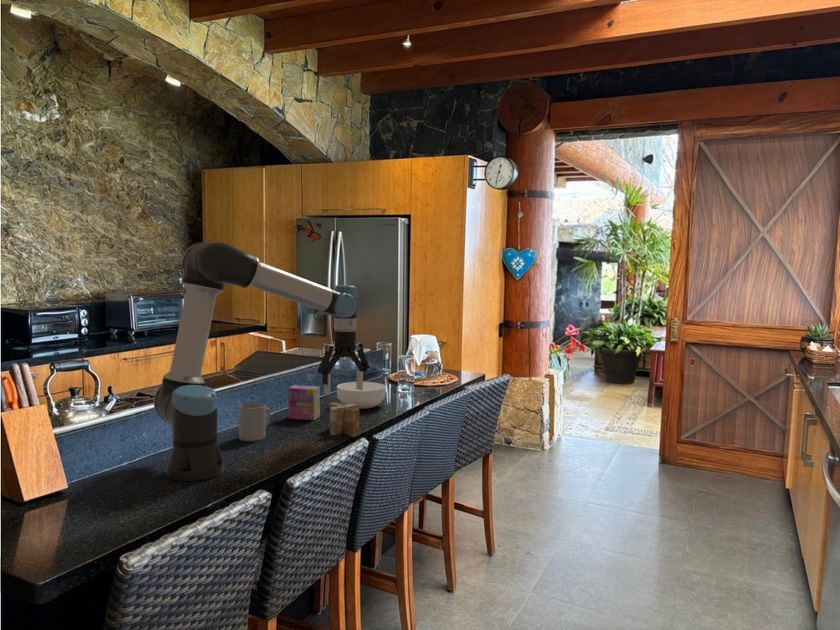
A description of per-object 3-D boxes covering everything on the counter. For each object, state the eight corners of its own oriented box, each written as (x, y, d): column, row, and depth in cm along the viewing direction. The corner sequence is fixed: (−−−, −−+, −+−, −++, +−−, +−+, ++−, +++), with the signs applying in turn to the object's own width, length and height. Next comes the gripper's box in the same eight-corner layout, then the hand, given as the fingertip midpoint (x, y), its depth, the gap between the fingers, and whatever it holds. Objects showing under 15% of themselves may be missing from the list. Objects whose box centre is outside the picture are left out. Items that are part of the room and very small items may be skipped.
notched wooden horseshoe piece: (334, 434, 218) (334, 408, 217) (330, 433, 220) (330, 407, 219) (357, 430, 225) (358, 404, 224) (353, 428, 226) (353, 403, 226)
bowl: (366, 414, 247) (366, 393, 246) (326, 407, 257) (326, 387, 256) (394, 405, 264) (394, 385, 263) (356, 399, 274) (356, 379, 273)
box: (288, 418, 239) (288, 387, 238) (294, 415, 244) (294, 384, 243) (314, 420, 236) (314, 389, 235) (320, 417, 242) (320, 386, 241)
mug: (252, 443, 207) (251, 409, 206) (233, 438, 211) (233, 406, 210) (278, 434, 217) (278, 402, 216) (260, 430, 221) (260, 399, 220)
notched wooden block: (353, 436, 216) (353, 410, 215) (329, 428, 226) (329, 403, 226) (359, 435, 218) (359, 409, 217) (335, 427, 228) (335, 402, 227)
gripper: (320, 333, 208) (318, 397, 210) (380, 329, 225) (378, 389, 226) (307, 330, 213) (306, 393, 215) (367, 327, 230) (365, 386, 232)
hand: (343, 391), depth 221 cm, fingers open, 13 cm apart
